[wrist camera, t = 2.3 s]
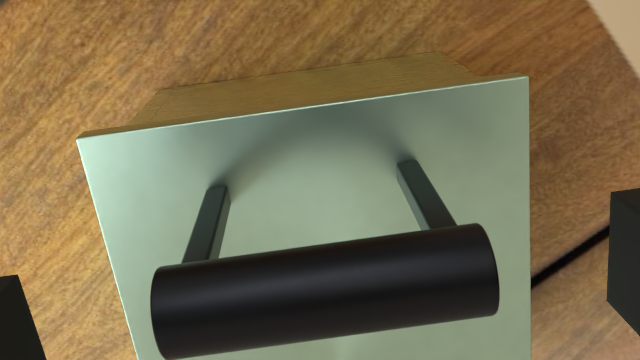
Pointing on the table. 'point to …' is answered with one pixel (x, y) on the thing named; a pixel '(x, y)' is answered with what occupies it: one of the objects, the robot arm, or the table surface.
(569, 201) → the table surface
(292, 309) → the freezer lid
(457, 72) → the freezer
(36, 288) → the table surface
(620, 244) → the robot arm
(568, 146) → the table surface
